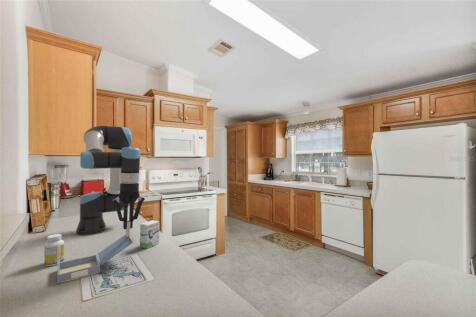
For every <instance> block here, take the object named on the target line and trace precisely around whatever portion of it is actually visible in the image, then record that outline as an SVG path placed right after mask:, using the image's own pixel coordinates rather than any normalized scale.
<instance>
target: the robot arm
mask: <svg viewBox="0 0 476 317" xmlns="http://www.w3.org/2000/svg"><path fill="white" fill-rule="evenodd" d="M132 137H133V135H132V132H131V129H130V128H128V127H124V126H112V125H96V126H93V127H90V128H88V129H87V130H86V131H85V132H84V134H83V137H82V138H83V142H84V144H85V151H81V152H80V155H79V156H80V159H79V160H80V168H82V169H85V170H87V169H89V170H95V169H109V175H110V176H109V188H108V189H107V191H106V193H104V192H103V191H94V192H89V193H85V194H82V195H81V196H80V199H79V221H78V225H77V227H76V228H75V229H76V230H75V234H76V235H77V234H78V236H90V234H91V235H96V233H97V234H100V233H102V231H103V232H104V230H105V231H106V230H107V225H106V223H105V219H104V217H103V216H104V215H103V213H104V214H105V213H111V212H112V213H113V212H116V213H117V217H118V220H119V221H120V222H123V223H122V224H123V226H122V228H123V230H125V234H124V235H126V237H129V238H131V237H130V235H131V233H130V232H131V229H133V225H134V221H135V220H137V219H138V218H139V214H140V211H141V209H142V204H143V202H144V201H145V200H146V199H145V197H143V196H141V194H140V191H139V189H140V188H139V187H140V183H139V182H140V166H141V165H140V163H141V149H140V148H138V147H132V146H133V138H132ZM104 146H107V149H108V150H109V151H105V149H104ZM137 201H138V202H137ZM136 202H137V204H136V208H134V207H135V203H136ZM128 211H129V212H128ZM122 212H123V213H122ZM128 213H129V214H128ZM122 214H123V215H122ZM128 219H129V220H128Z"/></svg>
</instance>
